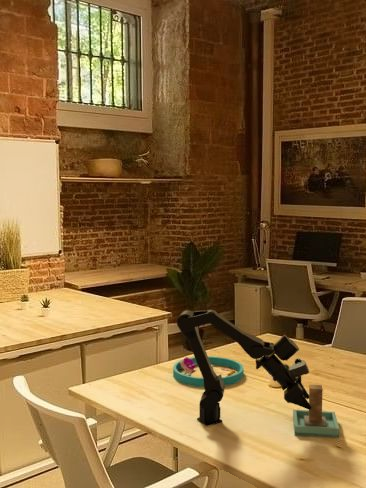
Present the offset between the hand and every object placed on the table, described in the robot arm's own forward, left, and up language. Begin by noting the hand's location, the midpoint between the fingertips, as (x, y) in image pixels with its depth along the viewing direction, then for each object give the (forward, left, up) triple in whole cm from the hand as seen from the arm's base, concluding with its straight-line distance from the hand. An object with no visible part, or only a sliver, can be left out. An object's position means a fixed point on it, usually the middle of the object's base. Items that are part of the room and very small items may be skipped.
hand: (309, 403), depth 189 cm
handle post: (+1, -1, -7) cm, 8 cm away
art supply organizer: (0, +62, -9) cm, 62 cm away
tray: (+2, -1, -8) cm, 8 cm away
